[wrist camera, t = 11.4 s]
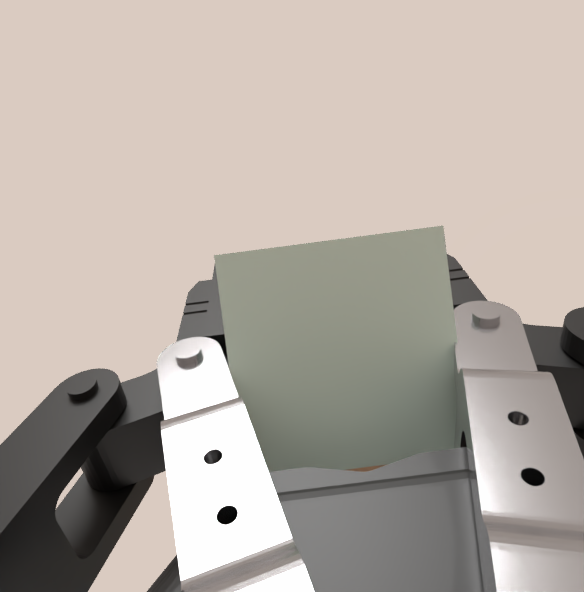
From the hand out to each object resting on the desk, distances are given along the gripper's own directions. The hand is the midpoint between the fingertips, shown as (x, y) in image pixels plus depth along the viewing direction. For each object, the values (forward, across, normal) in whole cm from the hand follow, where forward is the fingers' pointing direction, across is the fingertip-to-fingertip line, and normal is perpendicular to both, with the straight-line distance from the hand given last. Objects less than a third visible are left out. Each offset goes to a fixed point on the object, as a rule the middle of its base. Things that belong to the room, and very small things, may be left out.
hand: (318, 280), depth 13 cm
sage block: (+5, 0, +7) cm, 9 cm away
